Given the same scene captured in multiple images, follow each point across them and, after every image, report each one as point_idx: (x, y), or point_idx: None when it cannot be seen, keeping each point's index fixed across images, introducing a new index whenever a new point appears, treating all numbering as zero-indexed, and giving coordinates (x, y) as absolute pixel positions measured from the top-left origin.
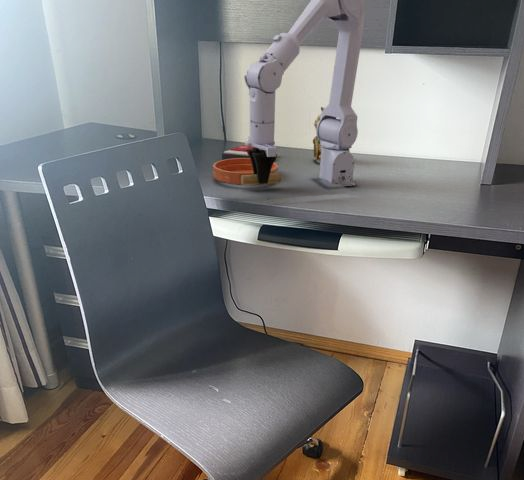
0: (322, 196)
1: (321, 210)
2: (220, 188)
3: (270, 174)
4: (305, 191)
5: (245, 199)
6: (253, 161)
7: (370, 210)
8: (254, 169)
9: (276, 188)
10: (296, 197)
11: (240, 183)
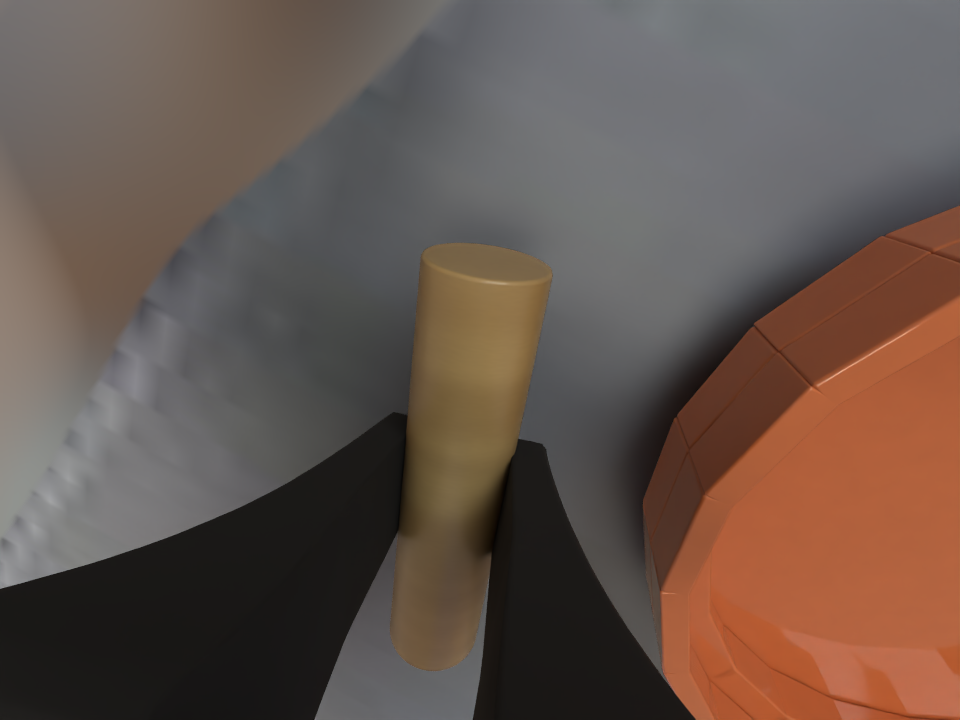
0: None
1: (54, 511)
2: (940, 109)
3: (414, 589)
4: None
5: (382, 193)
6: (504, 613)
7: None
8: (512, 517)
9: None
10: None
11: (747, 335)
